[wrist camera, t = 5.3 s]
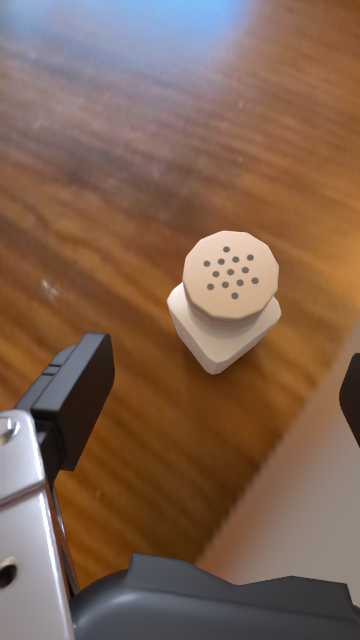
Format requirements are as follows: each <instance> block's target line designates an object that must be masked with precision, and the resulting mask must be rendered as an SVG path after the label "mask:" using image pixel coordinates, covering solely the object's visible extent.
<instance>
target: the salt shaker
mask: <svg viewBox="0 0 360 640" xmlns="http://www.w3.org/2000/svg"><path fill="white" fill-rule="evenodd" d="M278 273H279V266H278V264H277V262H276V260H275V258H274V257H273V255H272V253H271V251H270V249H269V248H268V246H267V245H266V244H264V243H263V242H261V241H259V240H258V239H256V238H254V237H253V236H251V235H250V234H248V233H243V232H231V231H221V232H219V233H216V234H214V235H211V236H209V237H206V238H203V239H201V240H200V241H199V242H198V243H197V245H196V246H195V247H194V248H193V249H192V251H191V252H190V253H189V254H188V255H187V257H186V260H185V266H184V273H183V279H182V280H183V282H182V283H181V284H180V285H179V286H177V287H176V288H175V289H174V290H173V291H172V292H171V294H170V296H169V298H168V300H167V304H168V308H169V311H170V314H171V317H172V319H173V322H174V325H175V328H176V331H177V333H178V335H179V337H180V338H181V339H182V341H183V342H184V343H185V345H186V346H187V347H188V348H189V350H190V351H191V352H192V354H193V355H194V356H195V358H196V359H197V360H198V361H199V363H200V364H201V365H202V367H203V368H204V369H205V371H207V372H208V373H210V374H212V375H214V374H218V373H221V372H222V371H223V370H225V369H226V368H227V367H228V366H230V365H231V364H232V363H234V362H235V361H236V360H237V359H239V358H240V357H241V356H242V355H244V354H245V353H246V352H248V351H249V350H250V349H251V348H253V347H254V346H255V345H257V343H258V342H259V341H260V340H261V339H262V338H263V337H264V336H265V335H266V334H267V333H268V332H269V331H270V329H271V328H272V327H273V326H274V325H275V324H276V323H277V322H278V320H279V318H280V316H281V310H280V306H279V303H278V301H277V300H276V299H275V297H274V294H275V293H276V291H277V288H278Z"/></svg>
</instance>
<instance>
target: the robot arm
mask: <svg viewBox="0 0 360 640" xmlns="http://www.w3.org/2000/svg"><path fill="white" fill-rule="evenodd" d="M114 376H115V368H114V359H113V351H112V343H111V337H110V335H109V334H107V333H93V332H86V333H85V334H84V335H83V337H82V338H81V339H80V341H79V342H78V344H77V345H76V346H74V345H70V346H68V347H67V348H65V349H64V350H62V351H60V352H59V353H57V354H56V356H55V357H54V358H53V359H52V361H51V362H50V363H49V366H47V367H46V368H45V369H44V371H43V372H42V375H40V376H39V377H38V378H37V379H36V381H35V382H34V383H33V384H32V386H31V387H30V388H29V389H28V391H27V392H26V393H25V394H24V396H23V397H22V398H21V399H20V400H19V402H18V403H17V404H16V405H15V407H14V408H13V409H10V410H4V411H1V412H0V640H360V608H359V607H357V606H355V605H353V603H352V600H351V596H350V593H349V590H348V586H347V584H344V583H338V582H331V581H324V580H317V579H310V578H303V577H296V576H287V577H282V578H277V579H272V580H266V581H261V582H255V583H250V584H245V585H234V584H231V583H229V582H227V581H225V580H223V579H221V578H219V577H217V576H215V575H212V574H210V573H208V572H206V571H204V570H202V569H200V568H198V567H196V566H194V565H192V564H190V563H187V562H185V561H183V560H179V559H172V558H165V557H158V556H151V555H144V554H137V553H132V555H131V560H130V564H129V569H126V570H121V571H117V572H115V573H112V574H109V575H106V576H104V577H102V578H100V579H98V580H96V581H94V582H93V583H91V584H90V585H88V586H87V587H85V588H84V589H82V590H80V586H79V582H78V578H77V574H76V571H75V567H74V563H73V560H72V556H71V553H70V549H69V545H68V540H67V536H66V532H65V527H64V523H63V519H62V514H61V510H60V506H59V501H58V497H57V493H56V489H55V485H54V480H55V478H56V476H57V474H58V472H59V470H67V471H74V469H75V467H76V465H77V463H78V460H79V458H80V456H81V454H82V452H83V449H84V447H85V445H86V443H87V441H88V439H89V436H90V434H91V432H92V430H93V428H94V425H95V423H96V421H97V419H98V417H99V414H100V412H101V410H102V408H103V406H104V403H105V401H106V399H107V397H108V395H109V393H110V390H111V388H112V386H113V382H114ZM339 401H340V407H341V409H342V412H343V414H344V416H345V418H346V420H347V422H348V424H349V426H350V428H351V431H352V433H353V435H354V437H355V439H356V441H357V443H358V445H359V447H360V353H356V354H354V356H353V357H352V359H351V362H350V364H349V367H348V370H347V373H346V375H345V378H344V381H343V383H342V386H341V389H340V393H339Z"/></svg>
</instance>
